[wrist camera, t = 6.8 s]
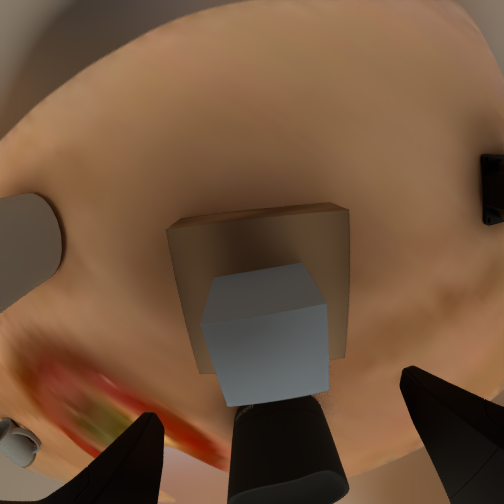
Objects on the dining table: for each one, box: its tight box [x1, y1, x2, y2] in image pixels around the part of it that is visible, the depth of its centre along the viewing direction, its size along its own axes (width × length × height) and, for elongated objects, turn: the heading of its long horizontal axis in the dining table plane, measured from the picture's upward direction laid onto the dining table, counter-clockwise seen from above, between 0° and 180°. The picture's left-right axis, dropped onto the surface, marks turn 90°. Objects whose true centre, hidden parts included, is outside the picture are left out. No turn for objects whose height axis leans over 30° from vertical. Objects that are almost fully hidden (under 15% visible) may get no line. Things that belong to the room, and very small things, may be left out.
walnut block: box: [166, 203, 350, 374], centre depth 18 cm, size 10×10×4 cm
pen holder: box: [227, 395, 349, 504], centre depth 19 cm, size 9×9×10 cm
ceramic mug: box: [0, 418, 40, 467], centre depth 24 cm, size 11×8×8 cm
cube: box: [200, 263, 329, 407], centre depth 14 cm, size 5×5×5 cm
